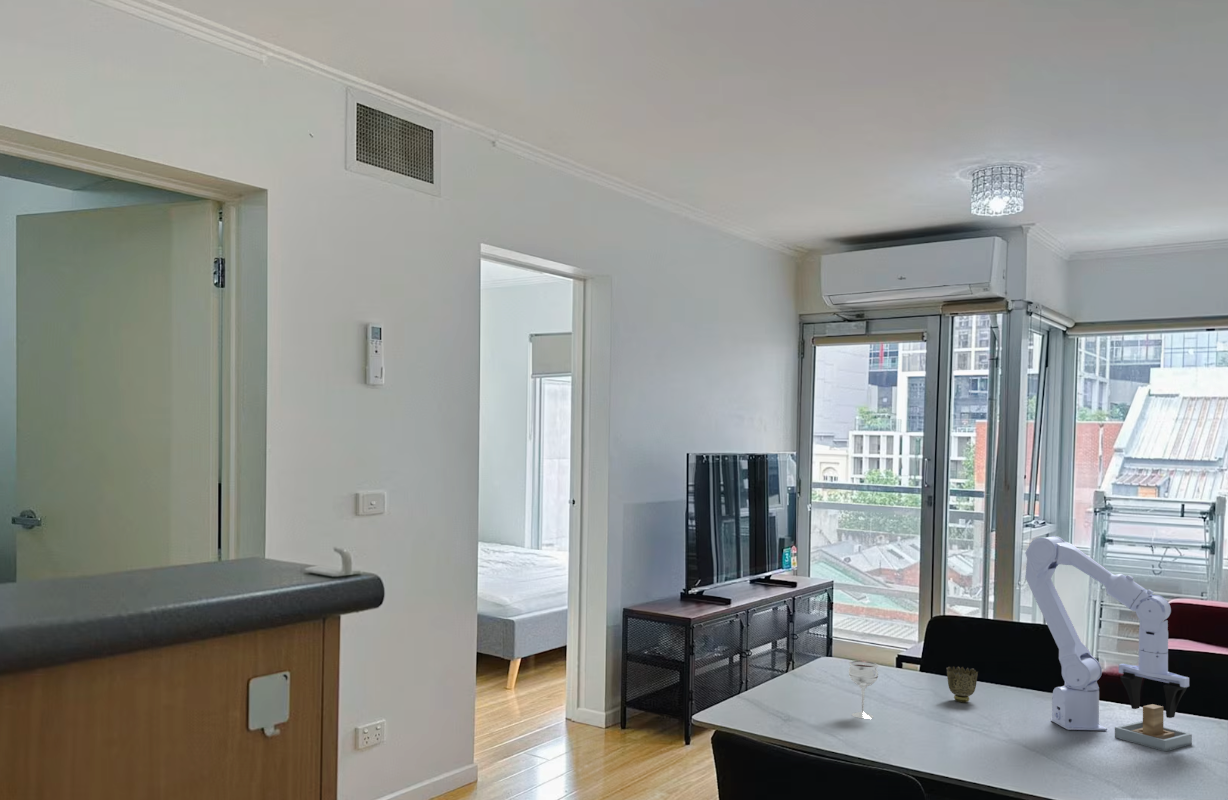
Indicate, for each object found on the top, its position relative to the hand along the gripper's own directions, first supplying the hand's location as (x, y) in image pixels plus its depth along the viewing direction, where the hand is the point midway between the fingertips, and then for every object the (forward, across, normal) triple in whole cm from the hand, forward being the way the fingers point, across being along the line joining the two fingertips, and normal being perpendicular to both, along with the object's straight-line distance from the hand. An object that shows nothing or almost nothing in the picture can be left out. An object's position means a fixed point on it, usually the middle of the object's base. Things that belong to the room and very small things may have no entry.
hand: (1152, 712), depth 211 cm
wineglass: (+7, +44, +45) cm, 63 cm away
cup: (+7, +42, +11) cm, 44 cm away
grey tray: (+6, 0, 0) cm, 6 cm away
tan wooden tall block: (+6, 0, 0) cm, 6 cm away
